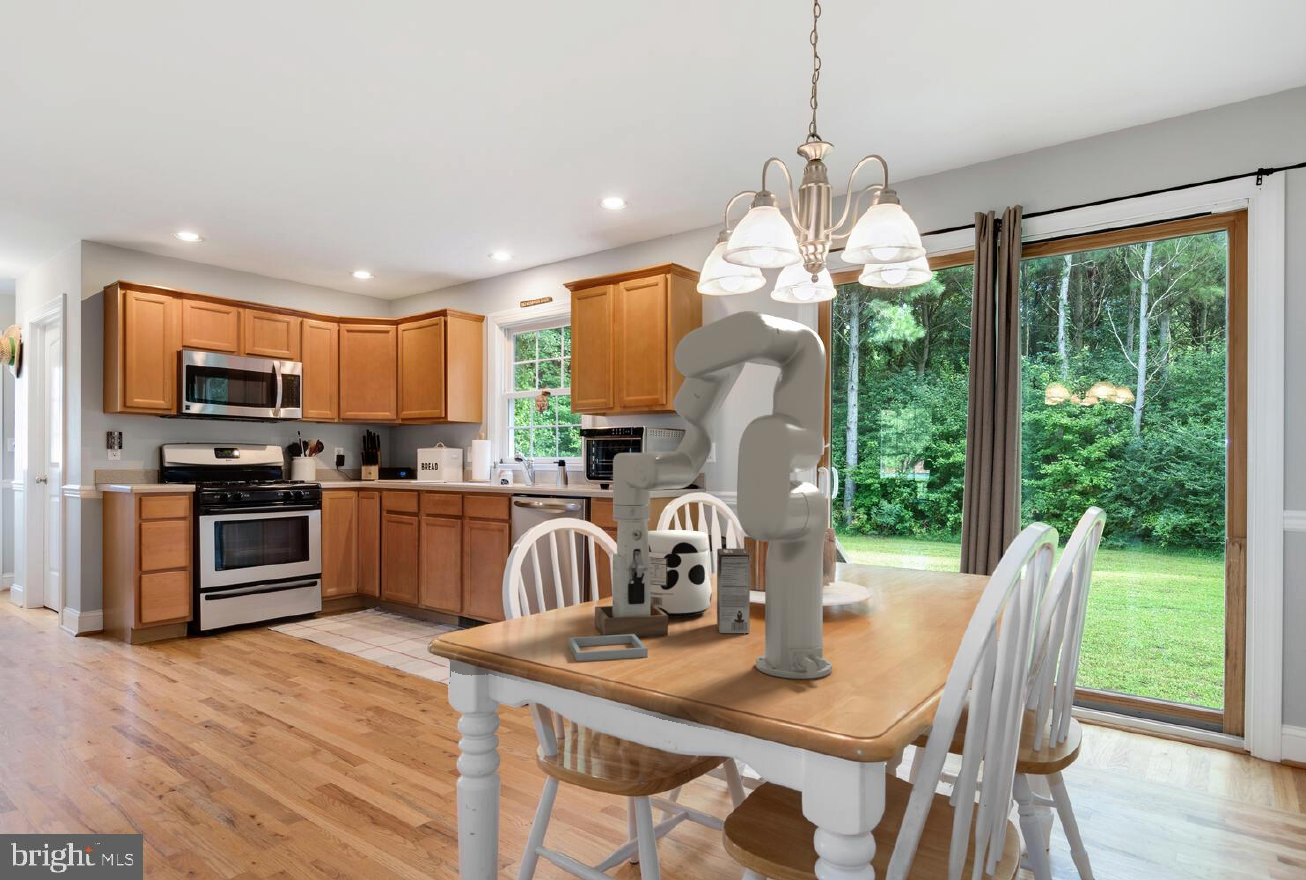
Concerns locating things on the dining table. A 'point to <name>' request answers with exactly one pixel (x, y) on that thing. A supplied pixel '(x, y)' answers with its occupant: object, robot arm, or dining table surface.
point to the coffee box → (733, 590)
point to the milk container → (679, 572)
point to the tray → (580, 655)
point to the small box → (621, 590)
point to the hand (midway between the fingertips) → (631, 599)
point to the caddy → (631, 623)
